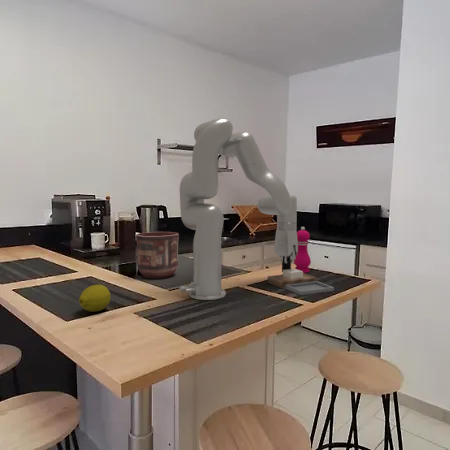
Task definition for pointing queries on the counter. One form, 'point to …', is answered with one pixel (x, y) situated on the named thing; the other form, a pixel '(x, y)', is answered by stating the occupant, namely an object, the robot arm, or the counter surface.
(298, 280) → the walnut plate
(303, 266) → the pepper mill
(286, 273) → the tile
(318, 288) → the tray
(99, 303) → the lemon
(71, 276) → the counter surface
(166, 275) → the pottery
